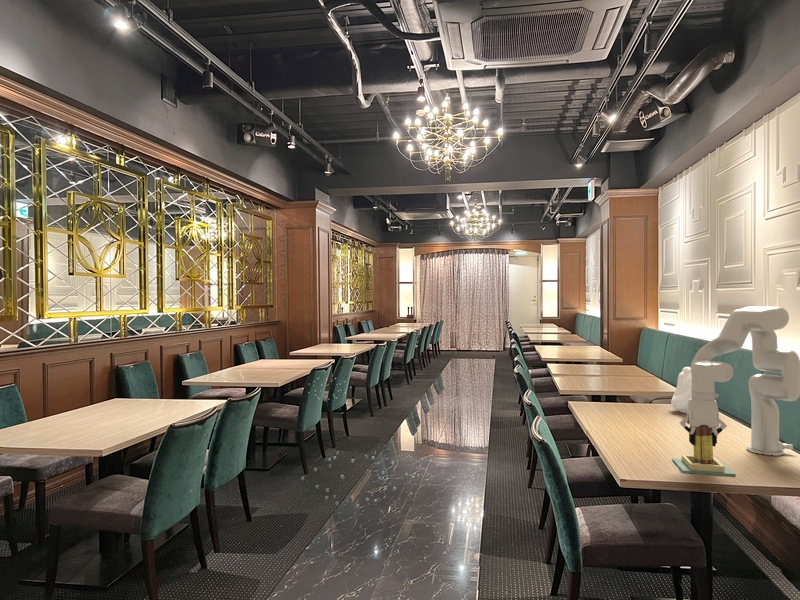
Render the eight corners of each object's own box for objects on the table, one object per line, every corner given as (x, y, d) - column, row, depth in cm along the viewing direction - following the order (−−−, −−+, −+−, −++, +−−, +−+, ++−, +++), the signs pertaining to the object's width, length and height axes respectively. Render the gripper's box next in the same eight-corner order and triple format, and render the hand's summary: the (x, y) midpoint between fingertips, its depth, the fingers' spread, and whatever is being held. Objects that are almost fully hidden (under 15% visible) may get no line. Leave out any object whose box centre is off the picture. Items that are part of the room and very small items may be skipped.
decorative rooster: (668, 408, 308) (668, 364, 308) (699, 410, 304) (699, 365, 304) (680, 418, 284) (680, 370, 284) (713, 419, 280) (713, 371, 280)
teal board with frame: (721, 463, 206) (721, 456, 206) (735, 476, 192) (735, 468, 192) (672, 460, 210) (672, 453, 210) (682, 472, 196) (682, 464, 196)
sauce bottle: (714, 462, 201) (715, 408, 201) (710, 466, 197) (711, 411, 196) (695, 458, 206) (695, 406, 205) (690, 462, 201) (691, 408, 201)
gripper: (725, 395, 203) (725, 443, 203) (674, 393, 207) (674, 441, 207) (732, 399, 195) (732, 449, 195) (680, 397, 199) (680, 446, 199)
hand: (702, 444), depth 201 cm, fingers closed on sauce bottle, 6 cm apart
